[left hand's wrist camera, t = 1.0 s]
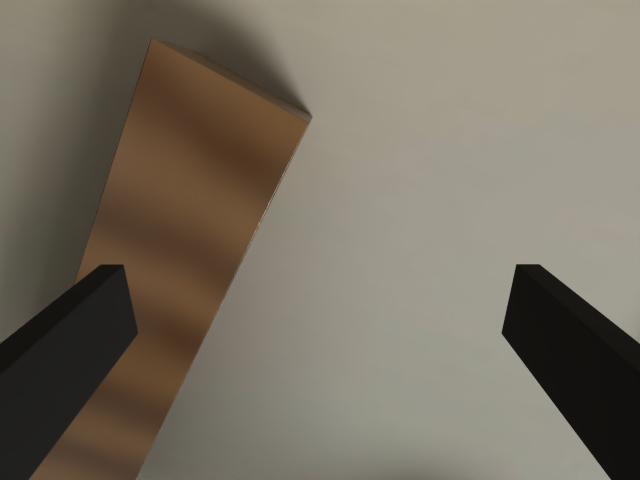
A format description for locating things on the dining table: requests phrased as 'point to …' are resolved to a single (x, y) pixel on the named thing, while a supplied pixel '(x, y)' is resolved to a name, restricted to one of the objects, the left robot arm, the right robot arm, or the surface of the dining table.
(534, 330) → the left robot arm
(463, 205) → the dining table surface
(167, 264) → the thick board
